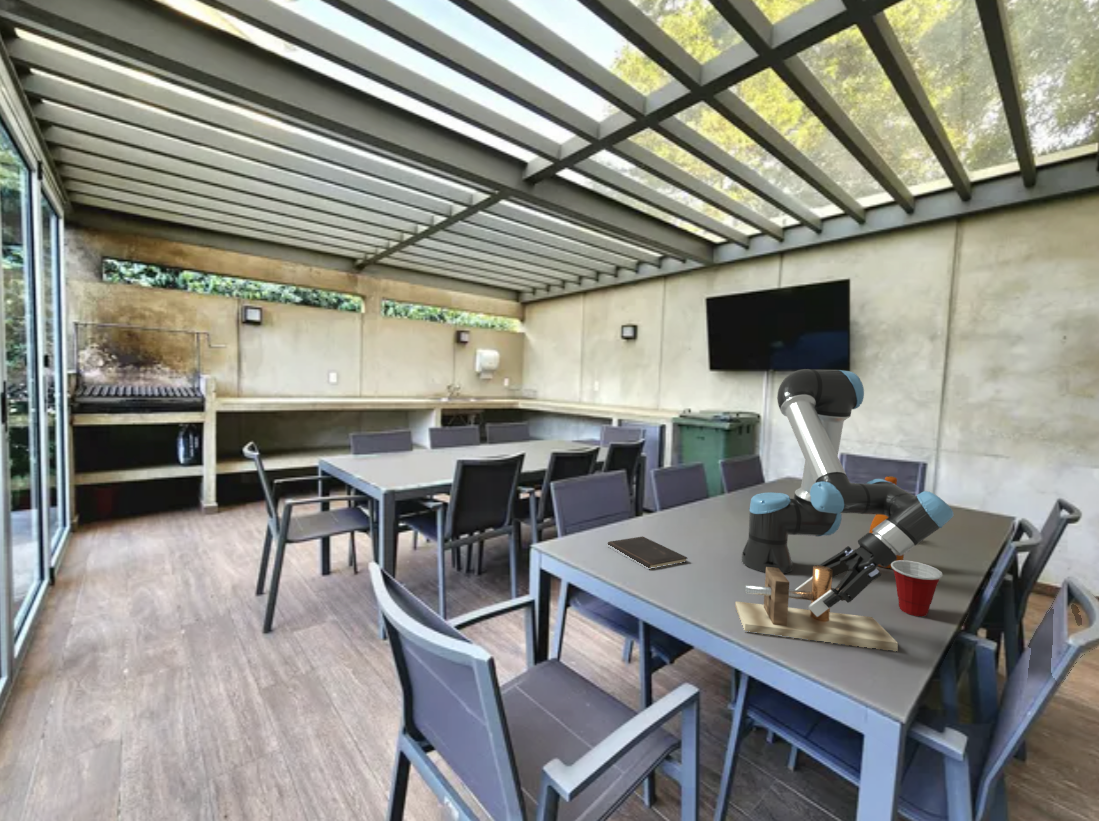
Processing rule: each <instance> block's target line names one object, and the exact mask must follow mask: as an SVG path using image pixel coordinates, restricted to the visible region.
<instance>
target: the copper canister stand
mask: <svg viewBox="0 0 1099 821" xmlns="http://www.w3.org/2000/svg"><path fill="white" fill-rule="evenodd" d="M764 587H771V588H772V590H771V596H766V595H763V604H761V603H753V602H744V601H735V606H734V607H735V608H736V610H737V612H736V614H737V613H738V615H739V617H738V619H739V618H740V619H739V621H740V620H741V622H740V624H741V623H742V624H741V626H742V625H743V627H742V629H743V628H744V629H743V631H744V630H745V631H748V632H749V631H750V632H757V633H765V634H773V635H774V634H775V635H782V636H789V637H794V638H802V639H808V640H807V641H810V640H816V641H815V642H817V641H824V642H823V643H825V642H831V643H830V644H833V643H838V644H837V645H841V644H845V645H844V646H849V645H852V646H851V647H857V646H859V648H864V647H867V648H866V649H872V648H876V649H875V650H880V649H883V650H882V651H888V650H893V651H892V652H896V651H897V652H898V650H899V649H898V647H899V642H897V640H896V639H895V638H893V636H892V635H891V634H890V633H889V632H888V631H887V630H886V629H885V628H884V627H883V626H882V625H881V624H879V622H877V620H876V619H875V618H874V617H873V616H865V615H857V614H850V613H849V614H848V613H840V612H831V611H830V616H829V621H827V622H822V621H818V620H815V619H813V618H812V617H811V616H810V609H805V608H796V607H790V606H789V599H790V598H789V589H790V581H789V580H788V578H787V577H786V575H785V573H782V572H781V570H780V569H779V568H774V567H766V572H765V579H764ZM736 610H735V611H736ZM738 615H737V616H738ZM794 638H793V639H794ZM802 639H801V640H802Z"/></svg>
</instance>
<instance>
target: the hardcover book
mask: <svg viewBox="0 0 1099 821" xmlns="http://www.w3.org/2000/svg"><path fill="white" fill-rule="evenodd" d="M607 544H608V545H610V546H612V547H614V548H615V549H617V550H619V551H620V552H622V553H624V554H625V555H627V556H629V557H630V558H632V559H634V560H636V561H637V562H639V563H641V564H643V565H644V566H646V567H648V568H651V567H657V566H663V565H668V564H674V563H680V562H684V561H686V562H687V559H688V558H689V557H687V556H685V555H683V554H681V553H678V552H677V551H675V550H673V549H670V548H669V547H666V546H663V545H662V544H660V543H657V542H656V541H654V540H652V539H649V538H647V537H645V536H638V537H636V536H635V537H631V538H625V539H618V540H611V541H608V542H607Z"/></svg>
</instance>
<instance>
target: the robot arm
mask: <svg viewBox="0 0 1099 821" xmlns="http://www.w3.org/2000/svg"><path fill="white" fill-rule="evenodd" d="M776 398H777V405H778V408H779V410H780V412H781V414H782V415H783V416H784V417H787V419H788V423H789V424H790V426H791V429H792V432H793V434H794V436H795V439H796V442H797V443H798V446H799V448H800V450H801V453H802V456H803V458H804V465H803V466H804V467H803V471H802V478H801V485H800V487H799V488H797V489H795V491H794V496H793V498H791V497H790V496H789V495H788V494H786V493H783V492H774V491H773V492H762V493H757V494H754V495H753V496H752V497H751V499H750V504H749V508H748V509H749V520H748V538H747V541H746V543H745V546H744V548H743V550H742V553H741V559H740V560H742V561H741V563H742V562H743V563H742V564H743V565H744V564H745V565H744V566H745V567H748V568H750V569H752V570H754V571H758V570H759V572H762V571H763V573H766V567H774V568H779V569H780V570H781V572H782V573H783V574H787V573H790V572H792V570H793V561H792V557H791V553H790V550H789V546H788V539H789V538H788V537H789V535H790V536H809V537H810V536H812V537H813V536H814V537H825V536H827V537H829V536H831V535H834V534H835V533H837V532H838V530H839V528H840V526H841V524H842V514H858V515H876V514H880V515H886V516H887V517H888V518H887V519H885V520H884V521H883V522H881V523H880V524H879V525H877V526H876V527H875V528H874V529H872V532H873V533H869V532H867V533H866V534H864V535H863V536H862V537H861V538H859V539H858V540H857V543H858V545H859V547H858V548H856V549H852V548H851V547H850V546H846V547H844V548H843V549H842V550H841V551H840V552H838V553H837V554H835V555H833V556H832V557H829V558H828V559H826V560H825V561H823V562H821V563H820V564H817V565H818V566H825V567H828V568H830V569H832V570H833V571H832V578H834V577H836V576H839V575H841V574H844V573H846V572H847V573H846V574H845V575H844V577H842V579H841V580H840V582H839V583H837V586H836V587H835V588H834V587H831V590H829V591H828V592H826V593H825V594H824V595H822V596H821V597H820V598H818V599H817V600H816V601H814V602H813V603H812V604H811V603H810V604H809V605H807V608H808V610H811V611H812V612H813V613H814V614H815V615H816V616H817V617H818V616H819V615H821V614H822V613H823V612H825V611H826V610H827V609H829V608H830V609H831V607H833V606H834V605H836V604H838V603H839V602H841V601H842V602H843V601H845V602H847V603H851V602H852V601H853V600H855V598H857V596H859V595H860V593H861V592H862V591H864V590H865V589H866V588H867V587H868V586H869V585H870V584H871V583H872V582H873V581H874V580H876V579H878V578H880V577H881V575H882V573H881V571H879V569H877V567H879V566H878V565H879V564H880V565H881V566H882V567H881V568H884V567H887V566H888V565H890V564H891V563H892V562H894V561H895V560H897V556H896V555H898V556H902V555H903V554H904V555H905V553H908V552H910V551H911V549H912V548H914V547H916V546H917V545H918V544H920V543H921V542H922V541H924V540H925V539H926V538H928V537H929V536H930V535H932V534H933V533H935V532H936V531H938V530H939V529H942V528H943V527H944V526H945V525H946V524H947V523H948V522H949V521H950V520H951V519H952V518H953V517H954V515H955V514H954V511H953V508H951V506H950V505H949V504H947V502H946V501H945V500H943V499H942V498H941V497H940V496H939V495H936V494H935V493H933V492H931V491H927V490H924V491H922V492H920V493H918V494H916V495H914V494H912V493H910V492H908V491H906V490H905V489H903V488H901V487H900V486H898V485H895V484H893V483H891V482H888V481H886V480H885V479H883V478H874V479H872V480H869V481H867V482H866V483H858V482H857V483H855V482H851V481H850V479H849V478H848V476H847V473H846V470H845V469H844V467H843V464H842V463H841V461H840V458H839V451H840V444H841V438H842V433H843V426H844V422H845V421H846V420H847V419H849V418H850V417H851V415H852V410H856V409H858V408H859V407H861V405H862V404H863V402H864V399H865V389H864V385H863V382H862V381H861V378H860V376H858V375H857V374H856V373H855V372H854V371H849V370H841V369H809V368H807V369H806V368H804V369H798V370H795V371H793V372H791V373H790V374H788V375H787V376H786V377H785V378H784V379H783V380H782V381H781V383H780V384H779V387H778V390H777V397H776ZM812 578H813V575H812V576H811V577H809V578H808V579H807V580H806V581H804V582H803V583H802V584H800V585H799V586H798V587H796V588H795V589H794V590H799V591H808V592H812Z"/></svg>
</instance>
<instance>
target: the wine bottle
mask: <svg viewBox="0 0 1099 821" xmlns="http://www.w3.org/2000/svg"><path fill="white" fill-rule="evenodd" d="M884 480H886V481H888V482H891V483H893V484H895V485H897V483H898V478H897V477H895V476H890V475H889V476H885V478H884ZM897 486H898V485H897ZM887 518H888V517H887V516H886V515H880V514H875V515H874V517H873V519H872V521H871V523H870V526H869V532H868V533H873V532H872V529H874V528H875V527H876V526H877V525H879V524H880V523H881V522H883V521H884V520H885V519H887ZM896 556H897V560H895V561H899V560H904V556H905V553H904V554H903V555H902V556H898V555H896ZM877 567H880V568H885V569H889V568H890V570H893V568H892V567H891V564H890V565H888V566H887V567H882V566H881V565H880V564H879V565H878V566H877Z"/></svg>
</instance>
